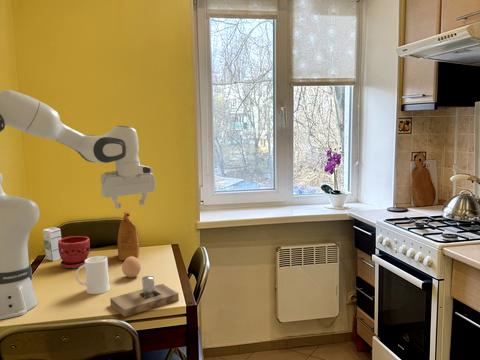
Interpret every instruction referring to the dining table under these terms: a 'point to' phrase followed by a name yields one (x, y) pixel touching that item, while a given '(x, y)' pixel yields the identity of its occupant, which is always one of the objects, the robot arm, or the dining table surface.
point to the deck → (143, 300)
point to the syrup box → (52, 243)
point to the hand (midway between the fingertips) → (130, 206)
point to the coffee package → (127, 238)
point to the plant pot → (74, 251)
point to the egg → (131, 267)
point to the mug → (96, 275)
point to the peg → (148, 287)
